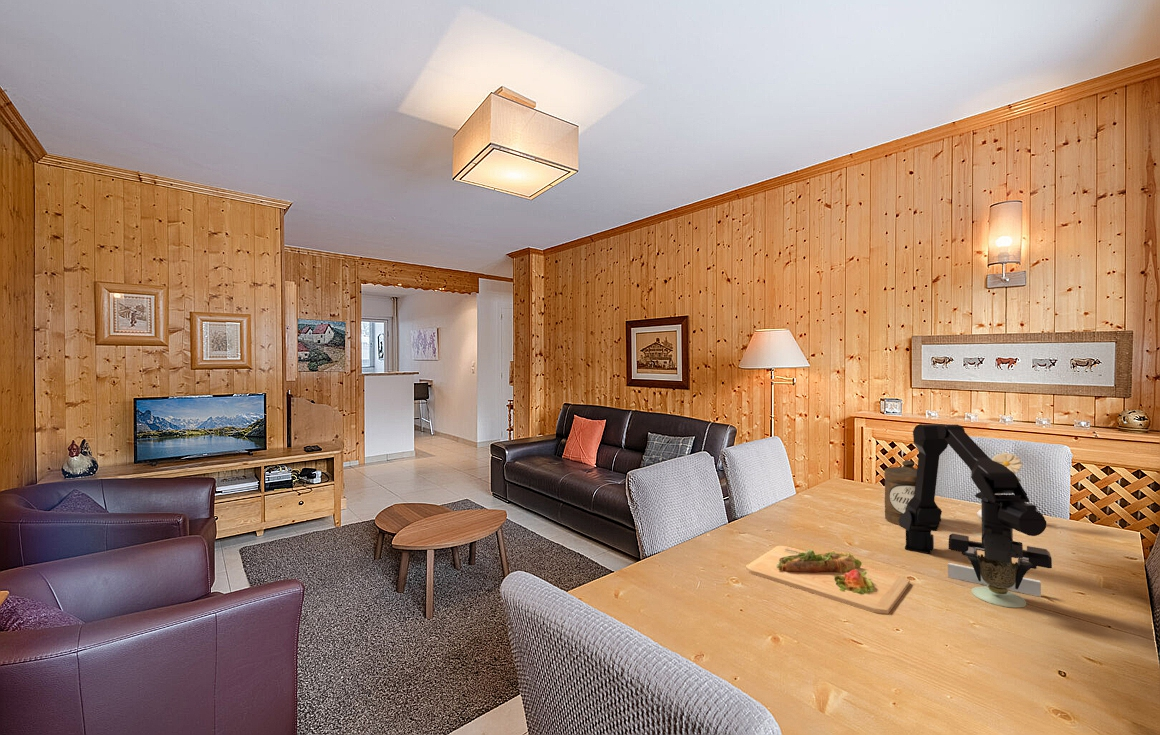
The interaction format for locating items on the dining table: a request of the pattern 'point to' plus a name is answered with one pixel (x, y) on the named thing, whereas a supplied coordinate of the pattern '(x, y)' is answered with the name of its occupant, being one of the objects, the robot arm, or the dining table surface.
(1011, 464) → the flower in vase
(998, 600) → the pad
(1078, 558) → the dining table surface
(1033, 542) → the dining table surface
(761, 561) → the cutting board
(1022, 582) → the acrylic wall
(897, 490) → the wooden container
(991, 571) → the cup
